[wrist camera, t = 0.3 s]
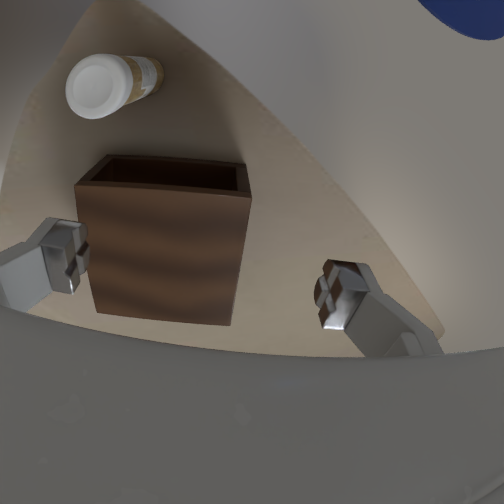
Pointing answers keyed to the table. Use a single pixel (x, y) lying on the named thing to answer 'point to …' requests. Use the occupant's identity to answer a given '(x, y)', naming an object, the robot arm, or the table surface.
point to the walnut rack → (165, 236)
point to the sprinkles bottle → (110, 83)
